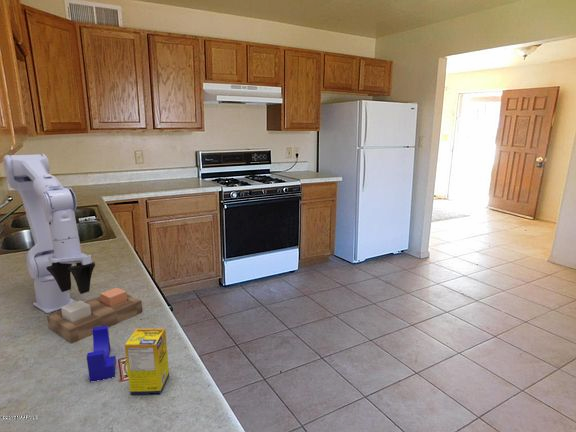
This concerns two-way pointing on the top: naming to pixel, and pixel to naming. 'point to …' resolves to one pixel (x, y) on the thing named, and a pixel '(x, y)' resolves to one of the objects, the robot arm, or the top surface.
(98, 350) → the blue notched block
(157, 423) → the top surface
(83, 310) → the white block
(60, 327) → the brown block tray
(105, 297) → the terracotta button
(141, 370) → the supplement box
